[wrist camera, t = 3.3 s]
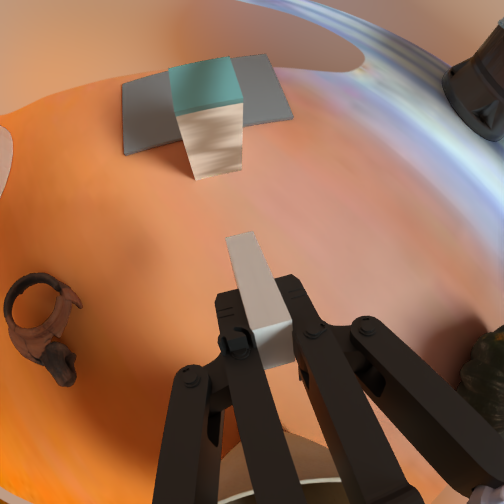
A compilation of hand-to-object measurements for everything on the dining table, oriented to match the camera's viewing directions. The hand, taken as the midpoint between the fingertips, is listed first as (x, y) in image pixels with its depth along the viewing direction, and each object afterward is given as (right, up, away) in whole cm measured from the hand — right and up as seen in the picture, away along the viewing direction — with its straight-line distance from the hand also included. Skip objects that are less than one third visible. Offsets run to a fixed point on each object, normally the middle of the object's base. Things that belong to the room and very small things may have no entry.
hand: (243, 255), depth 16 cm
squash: (+30, -17, +11) cm, 36 cm away
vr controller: (-21, -9, +11) cm, 25 cm away
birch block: (-4, +11, +15) cm, 19 cm away
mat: (-6, +19, +17) cm, 26 cm away
